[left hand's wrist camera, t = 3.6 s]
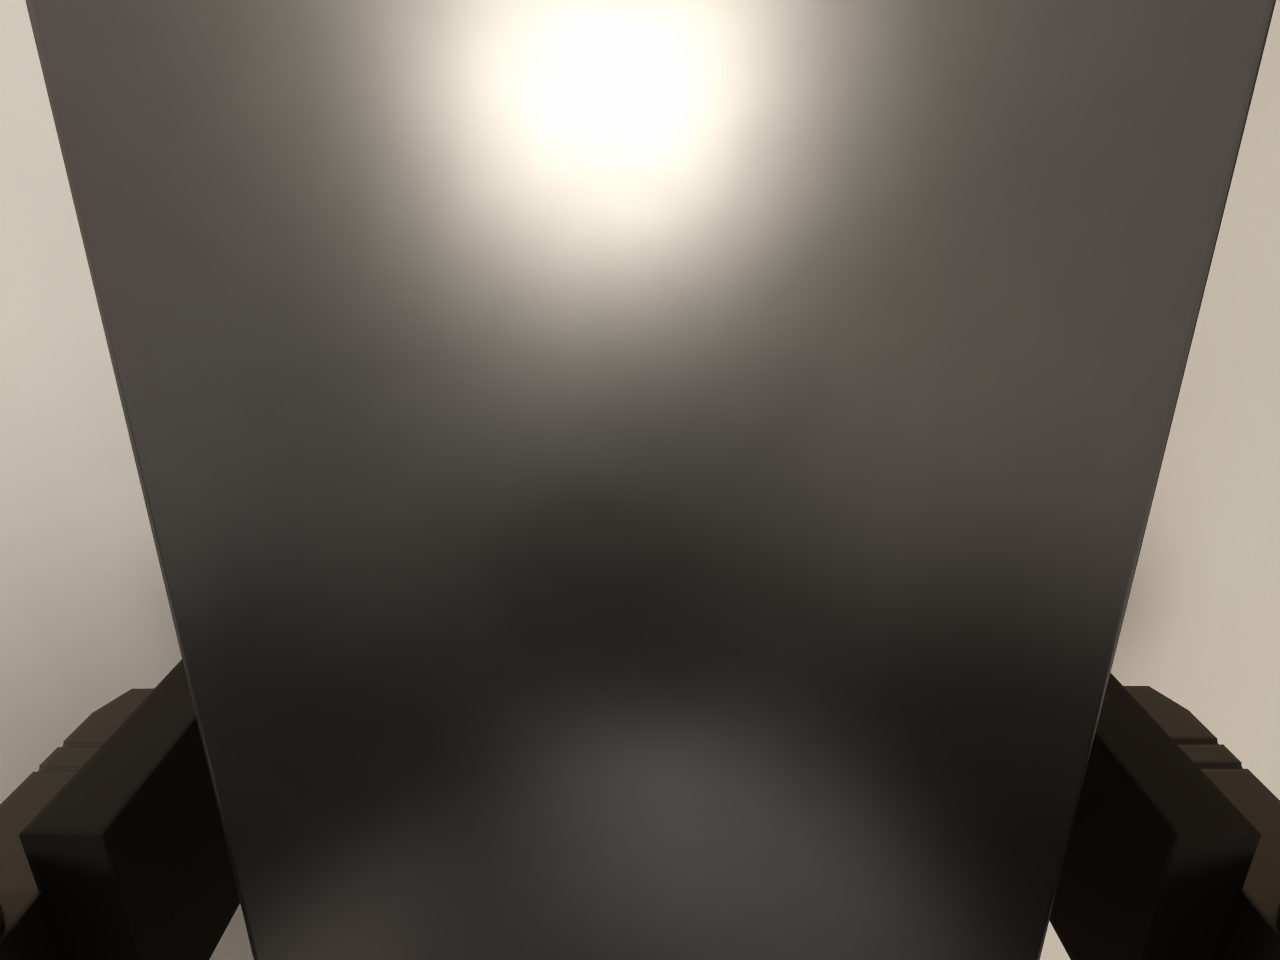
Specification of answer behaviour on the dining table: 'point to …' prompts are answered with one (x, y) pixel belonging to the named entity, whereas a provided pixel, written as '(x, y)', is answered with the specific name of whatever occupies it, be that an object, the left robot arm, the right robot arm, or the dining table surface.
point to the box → (648, 443)
